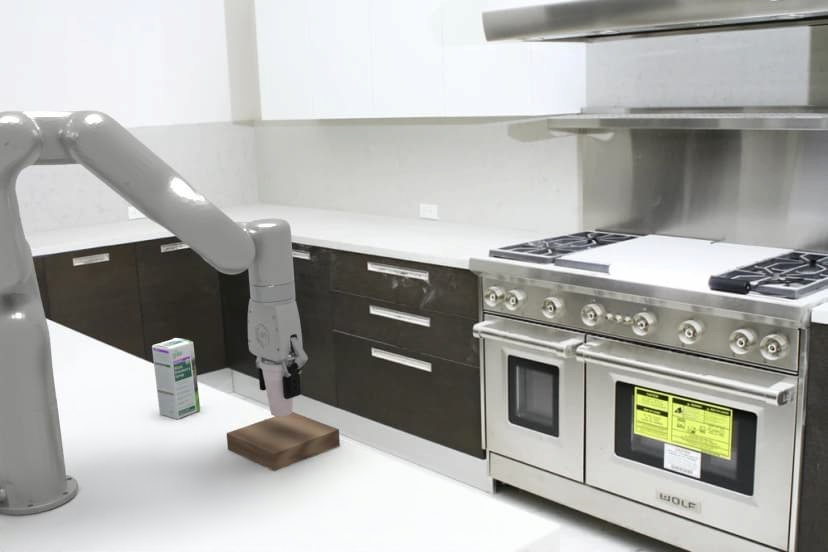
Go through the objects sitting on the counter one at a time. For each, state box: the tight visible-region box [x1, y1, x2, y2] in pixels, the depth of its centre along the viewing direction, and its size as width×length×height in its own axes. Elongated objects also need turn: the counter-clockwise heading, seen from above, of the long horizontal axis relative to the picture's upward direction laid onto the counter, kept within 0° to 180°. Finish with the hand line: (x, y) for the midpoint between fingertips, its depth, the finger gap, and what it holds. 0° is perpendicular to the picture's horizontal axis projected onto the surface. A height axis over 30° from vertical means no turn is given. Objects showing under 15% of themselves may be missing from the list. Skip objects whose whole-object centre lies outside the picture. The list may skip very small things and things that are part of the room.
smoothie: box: [260, 355, 294, 417], centre depth 154 cm, size 6×6×14 cm
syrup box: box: [151, 337, 201, 420], centre depth 175 cm, size 6×6×14 cm
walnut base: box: [226, 411, 341, 472], centre depth 157 cm, size 14×14×3 cm
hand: (280, 391), depth 155 cm, fingers closed on smoothie, 6 cm apart
